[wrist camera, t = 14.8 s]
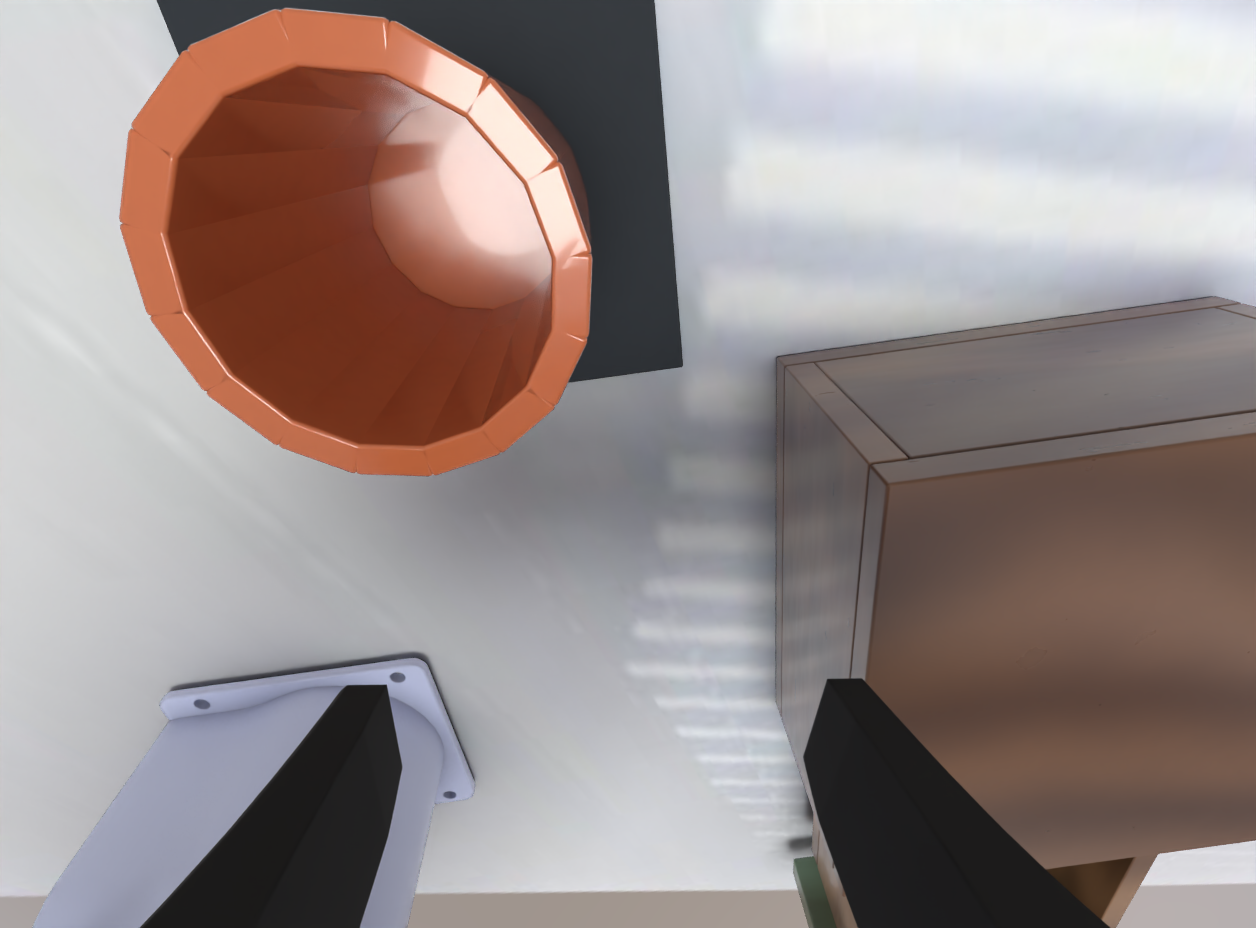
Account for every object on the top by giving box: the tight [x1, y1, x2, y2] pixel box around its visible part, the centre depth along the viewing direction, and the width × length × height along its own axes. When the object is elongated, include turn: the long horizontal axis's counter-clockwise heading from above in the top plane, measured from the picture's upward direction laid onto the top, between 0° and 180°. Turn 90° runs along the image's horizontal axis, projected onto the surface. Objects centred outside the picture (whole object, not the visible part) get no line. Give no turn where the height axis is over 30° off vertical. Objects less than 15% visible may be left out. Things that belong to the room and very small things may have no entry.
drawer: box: [793, 814, 1158, 928], centre depth 24 cm, size 15×11×5 cm
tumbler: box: [119, 8, 593, 476], centre depth 11 cm, size 5×5×8 cm
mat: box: [157, 0, 683, 383], centre depth 14 cm, size 10×10×1 cm
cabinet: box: [776, 297, 1256, 897], centre depth 17 cm, size 15×13×7 cm
